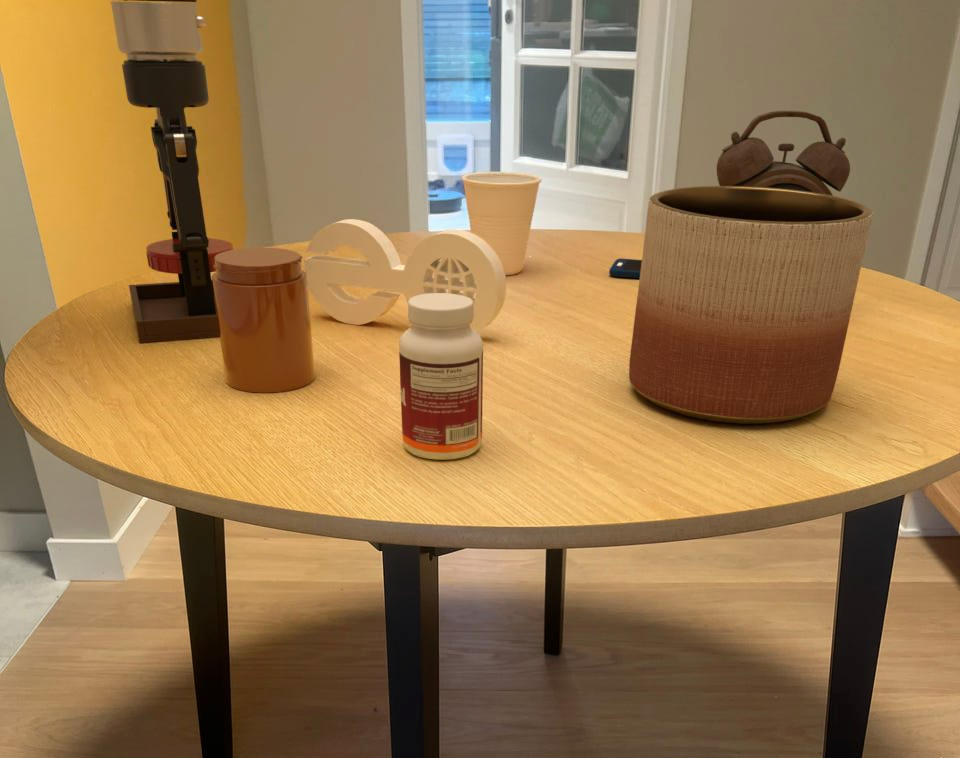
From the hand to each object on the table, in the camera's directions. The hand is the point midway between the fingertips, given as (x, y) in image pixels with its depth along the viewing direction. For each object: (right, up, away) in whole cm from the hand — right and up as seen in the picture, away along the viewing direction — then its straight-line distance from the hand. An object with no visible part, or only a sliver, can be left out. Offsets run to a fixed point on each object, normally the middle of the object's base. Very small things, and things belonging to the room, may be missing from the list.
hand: (197, 305), depth 101 cm
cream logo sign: (+22, -3, -1) cm, 22 cm away
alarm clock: (+62, +2, +8) cm, 63 cm away
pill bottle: (+27, -21, -28) cm, 44 cm away
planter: (+52, -14, -17) cm, 57 cm away
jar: (+11, -12, -15) cm, 22 cm away
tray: (0, -1, +1) cm, 1 cm away
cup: (+33, +12, +21) cm, 41 cm away
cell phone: (+54, +11, +21) cm, 59 cm away
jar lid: (0, +5, -3) cm, 6 cm away
